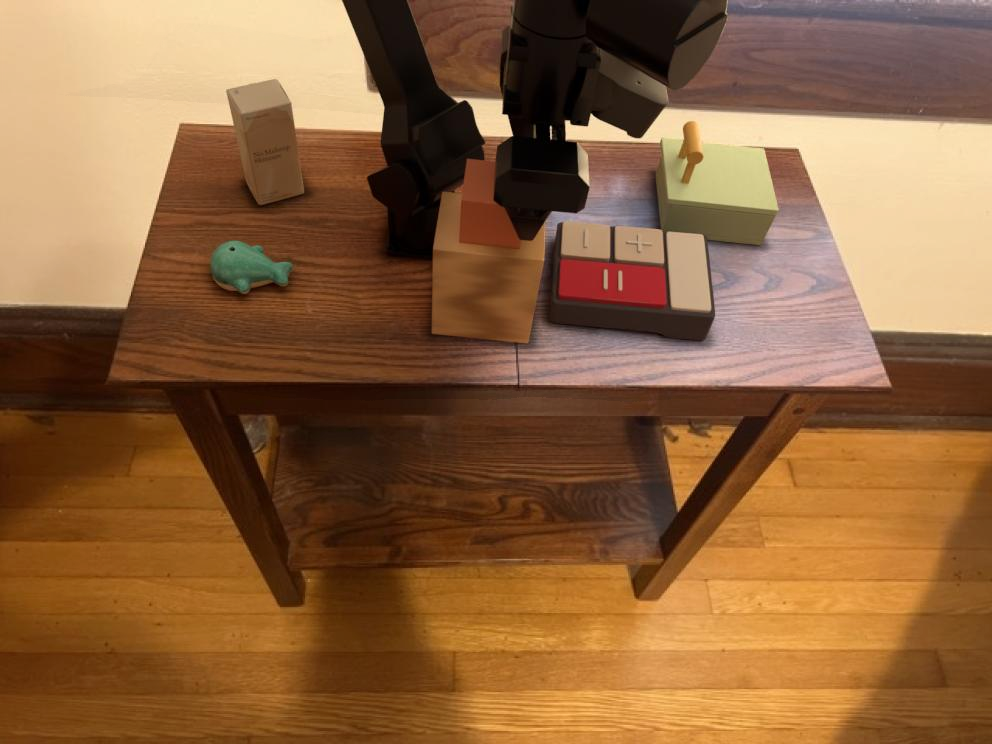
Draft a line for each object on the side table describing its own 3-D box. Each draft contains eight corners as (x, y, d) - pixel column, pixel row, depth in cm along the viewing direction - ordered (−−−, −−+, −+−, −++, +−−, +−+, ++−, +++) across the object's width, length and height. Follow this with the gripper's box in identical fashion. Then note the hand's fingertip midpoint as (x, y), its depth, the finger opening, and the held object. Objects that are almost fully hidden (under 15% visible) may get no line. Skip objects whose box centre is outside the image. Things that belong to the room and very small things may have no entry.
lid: (666, 203, 75) (679, 165, 71) (659, 142, 80) (671, 104, 76) (776, 215, 75) (795, 178, 71) (762, 153, 81) (779, 116, 77)
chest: (661, 235, 78) (671, 204, 75) (655, 173, 84) (665, 143, 80) (760, 245, 78) (776, 216, 75) (748, 184, 84) (761, 154, 81)
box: (259, 207, 76) (236, 114, 67) (245, 181, 78) (221, 88, 69) (307, 193, 77) (292, 100, 68) (293, 168, 79) (276, 76, 70)
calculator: (558, 215, 73) (709, 228, 73) (554, 246, 76) (698, 259, 76) (553, 297, 67) (718, 312, 66) (548, 327, 70) (706, 341, 70)
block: (458, 242, 59) (461, 200, 56) (464, 201, 62) (466, 158, 59) (520, 249, 60) (526, 207, 56) (522, 207, 62) (528, 165, 59)
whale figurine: (226, 251, 72) (217, 222, 68) (300, 262, 72) (295, 233, 68) (205, 295, 68) (195, 267, 65) (283, 307, 68) (277, 279, 65)
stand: (431, 334, 68) (432, 249, 59) (439, 278, 72) (442, 191, 63) (528, 343, 68) (544, 260, 59) (531, 288, 72) (546, 202, 63)
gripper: (696, 114, 42) (632, 292, 55) (663, -43, 53) (615, 136, 66) (505, 96, 42) (484, 280, 55) (511, -60, 53) (492, 125, 65)
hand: (526, 199), depth 60 cm, fingers open, 9 cm apart
